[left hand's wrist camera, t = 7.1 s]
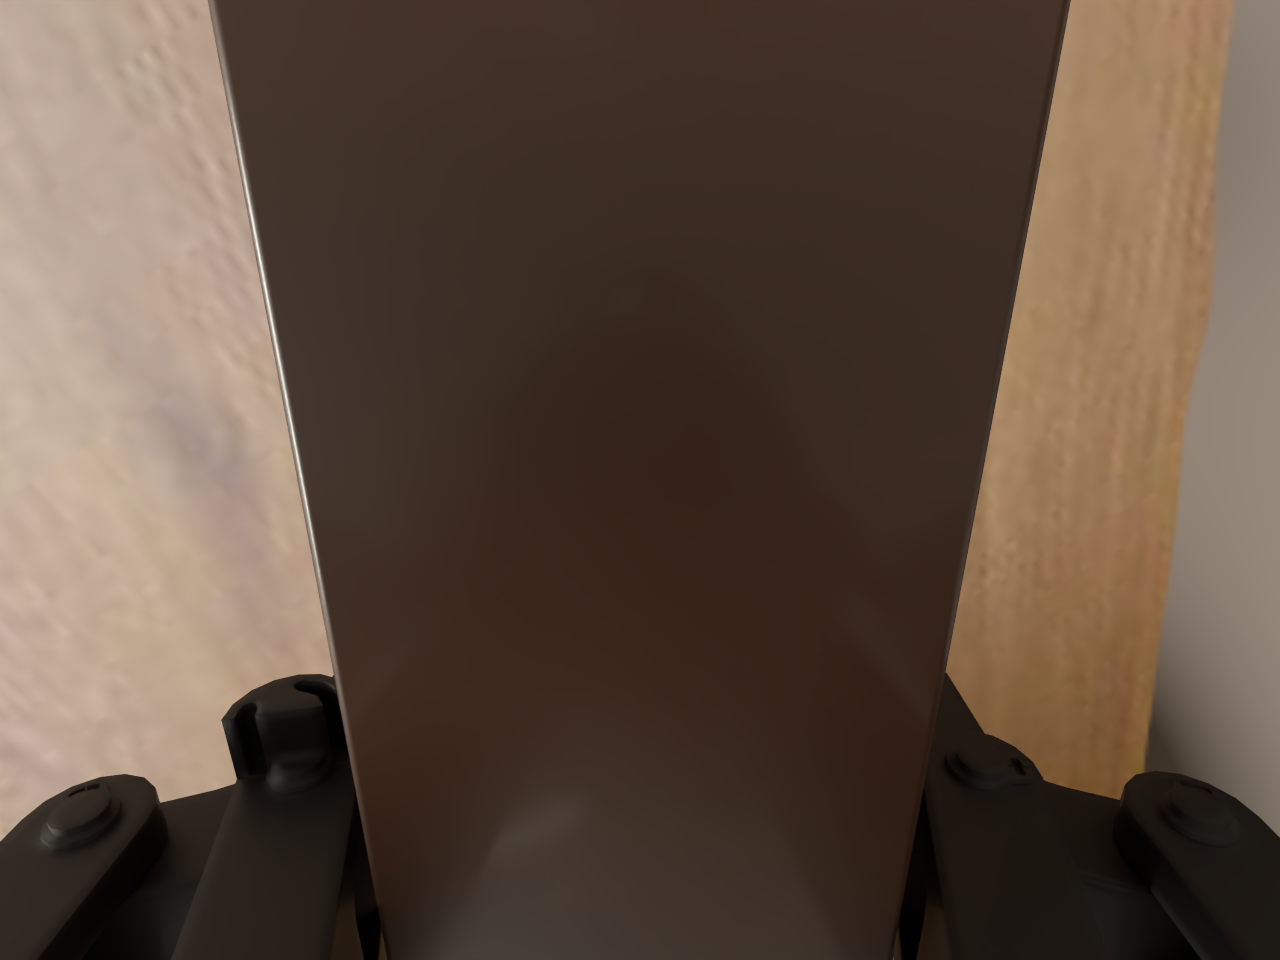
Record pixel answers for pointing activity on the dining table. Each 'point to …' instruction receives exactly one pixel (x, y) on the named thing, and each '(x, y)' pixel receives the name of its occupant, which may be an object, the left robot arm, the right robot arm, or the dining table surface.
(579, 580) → the beam
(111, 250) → the dining table surface
